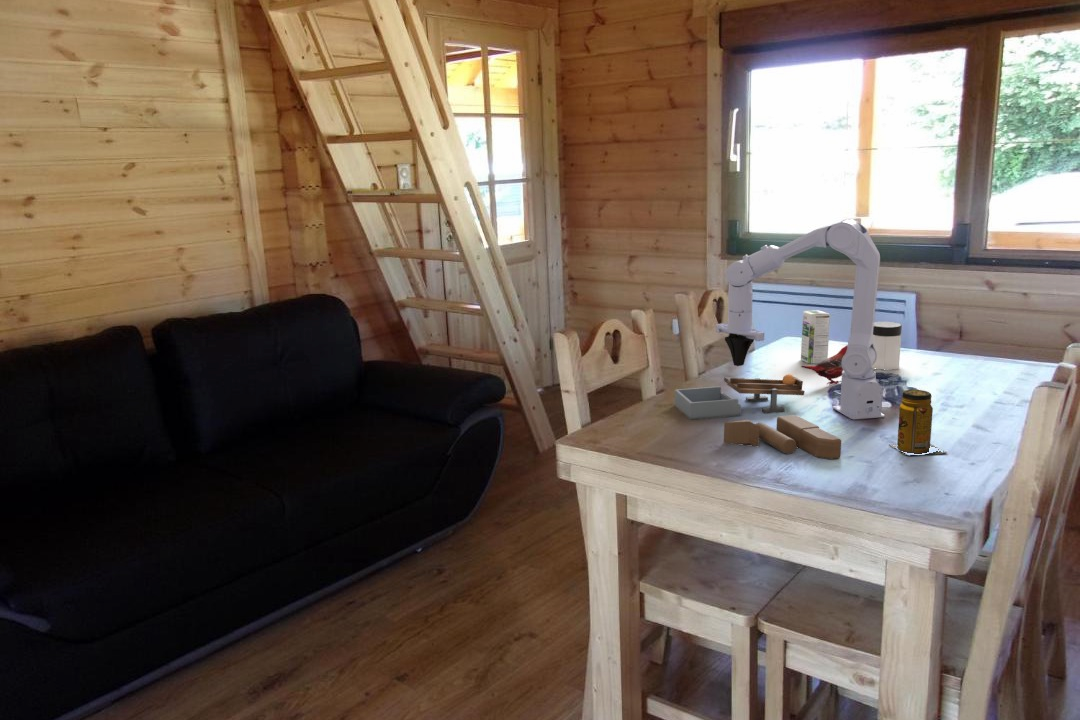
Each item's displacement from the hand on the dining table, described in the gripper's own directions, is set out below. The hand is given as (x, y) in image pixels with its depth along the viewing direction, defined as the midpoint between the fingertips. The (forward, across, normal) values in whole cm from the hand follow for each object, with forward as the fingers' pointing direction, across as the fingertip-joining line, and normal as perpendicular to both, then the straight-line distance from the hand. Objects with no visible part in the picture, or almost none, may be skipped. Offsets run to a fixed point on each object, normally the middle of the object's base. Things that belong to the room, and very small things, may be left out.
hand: (738, 365), depth 205 cm
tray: (+9, -2, +12) cm, 15 cm away
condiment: (+9, -48, -3) cm, 49 cm away
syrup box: (+9, +15, -44) cm, 48 cm away
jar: (+9, 0, -54) cm, 55 cm away
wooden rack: (+5, -6, -2) cm, 8 cm away
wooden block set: (+9, -32, +19) cm, 38 cm away
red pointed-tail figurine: (+9, -4, -27) cm, 29 cm away
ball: (+3, -10, -6) cm, 12 cm away
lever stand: (+9, -8, -1) cm, 12 cm away
